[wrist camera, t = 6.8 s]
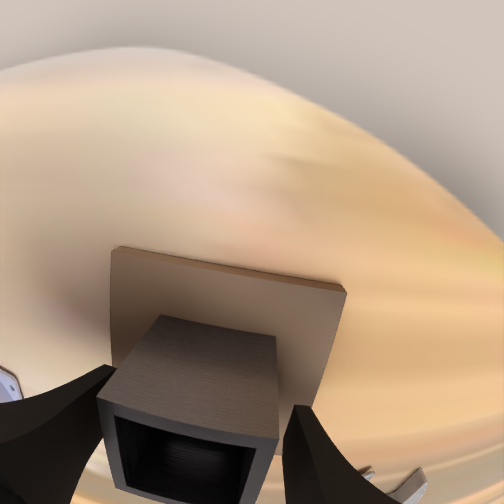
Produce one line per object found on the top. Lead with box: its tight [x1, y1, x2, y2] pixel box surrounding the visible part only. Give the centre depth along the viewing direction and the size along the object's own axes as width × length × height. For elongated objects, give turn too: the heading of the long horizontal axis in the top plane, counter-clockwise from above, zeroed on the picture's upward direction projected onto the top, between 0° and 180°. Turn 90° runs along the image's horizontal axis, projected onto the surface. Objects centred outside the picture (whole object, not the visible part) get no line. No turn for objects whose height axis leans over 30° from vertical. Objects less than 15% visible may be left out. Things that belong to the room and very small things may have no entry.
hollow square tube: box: [96, 314, 280, 504], centre depth 10 cm, size 5×5×6 cm
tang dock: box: [110, 247, 347, 455], centre depth 13 cm, size 10×10×4 cm
